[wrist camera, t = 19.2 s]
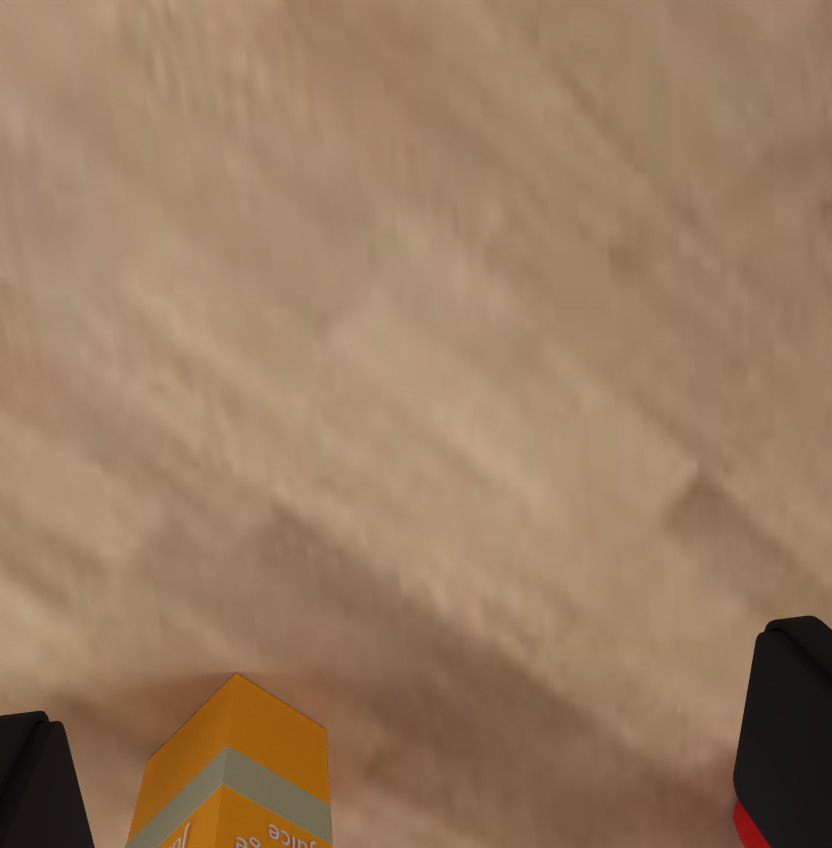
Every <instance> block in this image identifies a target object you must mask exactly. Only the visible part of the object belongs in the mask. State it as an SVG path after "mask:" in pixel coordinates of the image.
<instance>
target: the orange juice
mask: <svg viewBox="0 0 832 848" xmlns="http://www.w3.org/2000/svg"><path fill="white" fill-rule="evenodd" d="M332 845H333V843H332V823H331V805H330V802H329V782H328V761H327V740H326V729H324V728H323V727H321V726H320V725H318V724H317V723H315V722H313V721H312V720H310V719H309V718H307V717H305V716H304V715H302V714H301V713H299V712H297V711H296V710H294V709H293V708H291V707H290V706H288V705H286V704H285V703H283V702H282V701H280V700H278V699H277V698H275V697H274V696H272V695H271V694H269V693H267V692H266V691H264V690H263V689H261V688H259V687H258V686H256V685H255V684H253V683H251V682H250V681H248V680H247V679H245V678H244V677H242V676H240V675H239V674H237V673H235V674H234V675H233V676H232V677H231V678H230V679H229V680H228V681H227V682H226V683H225V684H224V685H223V686H222V687H221V688H220V689H219V690H218V691H217V692H216V693H215V694H214V695H213V696H212V697H211V698H210V699H209V700H208V701H207V702H206V703H205V704H204V705H203V706H202V707H201V708H200V709H199V710H198V711H197V712H196V713H195V714H194V715H193V716H192V717H191V718H190V719H189V720H188V721H187V722H186V723H185V724H184V725H183V726H182V727H181V728H180V729H179V730H178V731H177V732H176V733H175V734H174V735H173V736H172V737H171V738H170V739H169V740H168V741H167V742H166V743H165V744H164V745H163V746H162V747H161V748H160V749H159V750H158V751H157V752H156V753H155V754H154V755H153V756H152V757H151V758H150V759H149V760H148V761H147V764H146V768H145V772H144V776H143V780H142V784H141V788H140V792H139V796H138V800H137V804H136V808H135V812H134V816H133V820H132V824H131V828H130V832H129V836H128V840H127V844H126V845H125V848H332Z"/></svg>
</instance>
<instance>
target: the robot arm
mask: <svg viewBox="0 0 832 848" xmlns="http://www.w3.org/2000/svg"><path fill="white" fill-rule="evenodd" d="M733 782H734V788H735V791H736V794H737V797H738V799H739V801H740V803H741V805H742V806H743V808H744V809H745V811H746V812H747V814H748V815H749V817H750V818H751V820H752V821H753V822H754V824H755V825H756V827H757V828H758V830H759V831H760V833H761V834H762V836H763V837H764V838H765V840H766V841H767V843H768V844H769V846H770V847H771V848H832V630H831V629H830V628H829V627H828V626H827V625H826V624H825V623H823V622H822V621H821V620H819V619H818V618H816V617H814V616H801V617H793V618H785V619H777V620H773V621H770V622H769V623H768V624H767V625H766V628H765V631H764V632H762V633H760V634H759V635H758V636H757V639H756V643H755V649H754V655H753V661H752V667H751V673H750V678H749V684H748V690H747V696H746V702H745V708H744V714H743V720H742V726H741V732H740V738H739V744H738V750H737V756H736V762H735V768H734V774H733ZM0 848H95V847H94V843H93V839H92V835H91V831H90V827H89V823H88V819H87V815H86V812H85V808H84V804H83V800H82V796H81V792H80V788H79V784H78V780H77V776H76V772H75V768H74V764H73V760H72V756H71V752H70V748H69V744H68V740H67V736H66V732H65V729H64V726H63V724H62V723H61V722H60V721H54V722H50V721H49V718H48V716H47V715H46V713H45V712H44V711H35V712H27V713H19V714H11V715H3V716H0Z"/></svg>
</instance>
